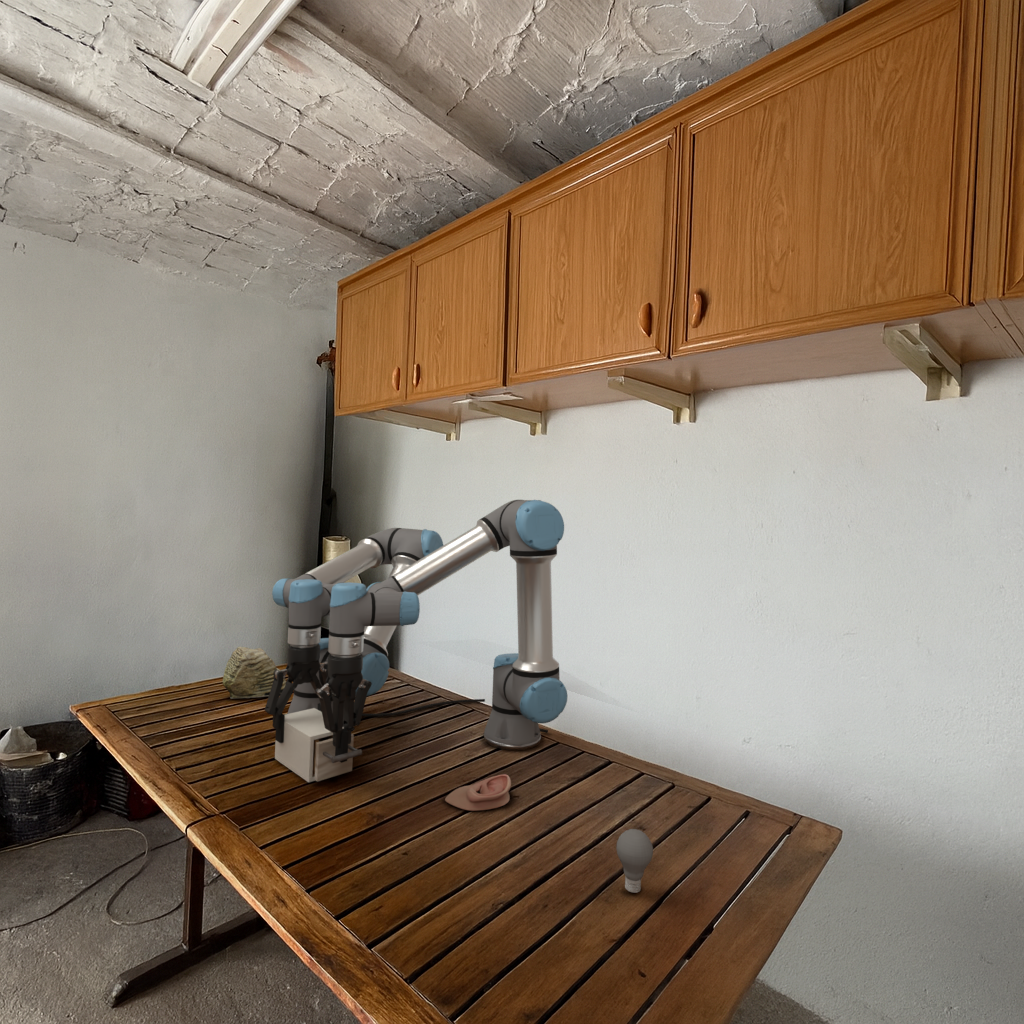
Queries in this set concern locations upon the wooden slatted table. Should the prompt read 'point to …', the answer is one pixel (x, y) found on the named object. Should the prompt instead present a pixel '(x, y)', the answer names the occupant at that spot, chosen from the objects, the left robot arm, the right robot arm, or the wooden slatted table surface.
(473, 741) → the wooden slatted table surface
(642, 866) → the light bulb
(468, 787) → the anatomical model
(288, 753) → the cabinet
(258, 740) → the wooden slatted table surface
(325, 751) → the drawer
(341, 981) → the wooden slatted table surface
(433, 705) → the left robot arm
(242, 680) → the fossil
